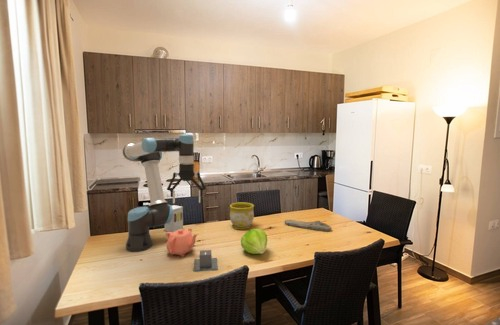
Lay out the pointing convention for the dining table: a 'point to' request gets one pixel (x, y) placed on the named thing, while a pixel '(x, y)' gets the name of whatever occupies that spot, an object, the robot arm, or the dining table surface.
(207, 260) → the gray cube
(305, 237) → the dining table surface
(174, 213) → the supplement box
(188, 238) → the teapot
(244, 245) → the lettuce
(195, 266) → the shaft post
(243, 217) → the flowerpot
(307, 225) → the elongated rock
